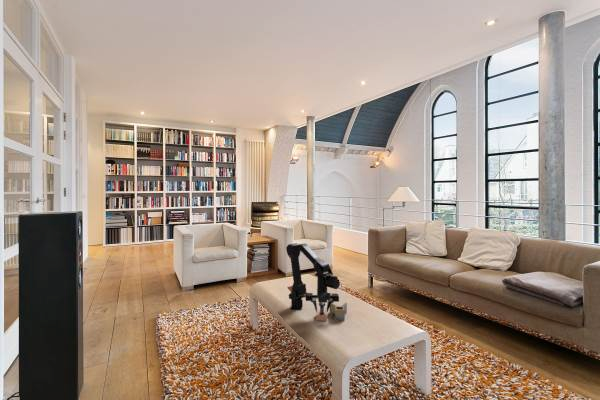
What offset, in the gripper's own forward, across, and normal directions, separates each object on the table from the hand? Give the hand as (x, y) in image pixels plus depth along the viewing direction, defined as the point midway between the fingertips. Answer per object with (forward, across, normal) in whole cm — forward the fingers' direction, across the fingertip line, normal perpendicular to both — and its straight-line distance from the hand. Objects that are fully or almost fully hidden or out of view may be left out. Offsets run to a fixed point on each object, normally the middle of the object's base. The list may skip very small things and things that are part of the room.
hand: (321, 312), depth 173 cm
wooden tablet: (+4, -15, +44) cm, 47 cm away
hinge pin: (+4, 0, 0) cm, 4 cm away
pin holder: (+4, 0, 0) cm, 4 cm away
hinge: (+4, +10, +3) cm, 11 cm away
